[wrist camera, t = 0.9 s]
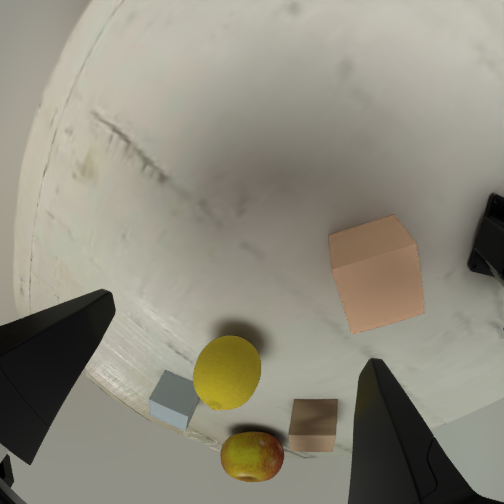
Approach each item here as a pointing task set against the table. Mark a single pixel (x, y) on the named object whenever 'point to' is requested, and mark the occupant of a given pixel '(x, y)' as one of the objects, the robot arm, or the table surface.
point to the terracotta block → (377, 273)
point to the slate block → (173, 400)
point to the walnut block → (313, 425)
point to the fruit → (252, 456)
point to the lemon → (227, 372)
